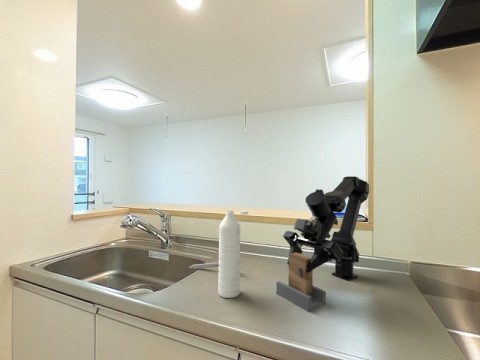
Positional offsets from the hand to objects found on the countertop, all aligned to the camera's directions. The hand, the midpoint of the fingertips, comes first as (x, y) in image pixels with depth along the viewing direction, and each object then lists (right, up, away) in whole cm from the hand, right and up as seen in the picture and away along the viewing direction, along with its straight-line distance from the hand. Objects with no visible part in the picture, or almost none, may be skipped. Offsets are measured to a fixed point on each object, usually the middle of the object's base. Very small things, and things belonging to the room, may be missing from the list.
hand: (297, 268), depth 67 cm
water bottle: (-19, -9, +3) cm, 21 cm away
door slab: (+1, -7, +1) cm, 7 cm away
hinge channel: (+1, -9, +1) cm, 9 cm away
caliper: (-27, -10, +22) cm, 36 cm away
